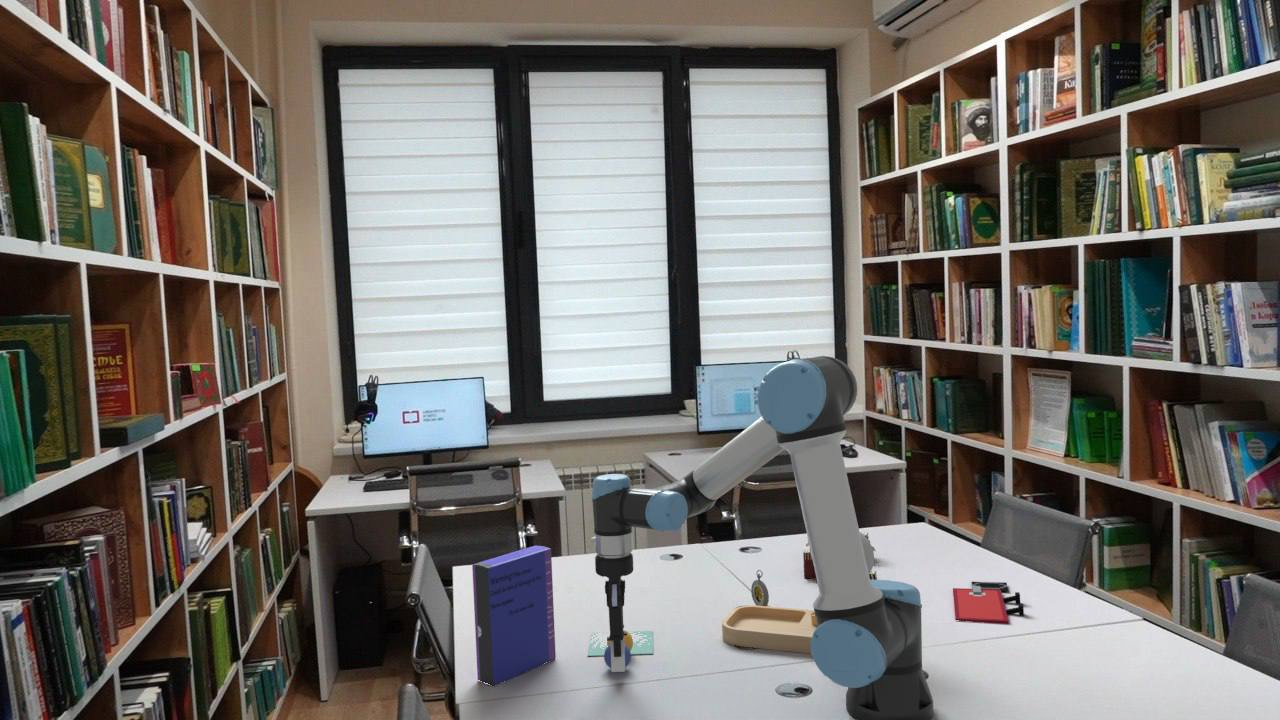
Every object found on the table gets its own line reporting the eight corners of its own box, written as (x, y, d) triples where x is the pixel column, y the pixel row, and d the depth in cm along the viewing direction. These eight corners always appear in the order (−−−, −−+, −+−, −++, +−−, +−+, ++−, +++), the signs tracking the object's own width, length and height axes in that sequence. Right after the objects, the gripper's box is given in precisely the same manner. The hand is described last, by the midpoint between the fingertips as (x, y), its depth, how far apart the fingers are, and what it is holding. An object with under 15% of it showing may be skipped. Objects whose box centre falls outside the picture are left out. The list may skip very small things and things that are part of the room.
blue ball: (629, 635, 190) (630, 654, 193) (603, 637, 190) (604, 655, 192) (631, 655, 185) (632, 674, 188) (604, 657, 185) (605, 676, 188)
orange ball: (632, 650, 192) (632, 624, 196) (606, 650, 192) (606, 625, 196) (633, 659, 197) (633, 635, 200) (607, 660, 197) (607, 635, 200)
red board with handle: (1014, 586, 234) (952, 584, 239) (1014, 575, 234) (951, 573, 238) (1026, 627, 206) (955, 624, 210) (1026, 615, 205) (955, 612, 210)
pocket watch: (729, 616, 219) (727, 574, 219) (744, 605, 226) (743, 565, 226) (760, 621, 215) (759, 578, 214) (775, 610, 222) (774, 569, 221)
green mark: (653, 654, 196) (653, 653, 196) (587, 656, 196) (587, 655, 196) (652, 631, 210) (652, 630, 210) (591, 633, 210) (591, 632, 210)
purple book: (539, 654, 199) (535, 544, 198) (555, 659, 196) (550, 547, 195) (477, 681, 185) (472, 563, 184) (493, 686, 182) (488, 567, 181)
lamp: (716, 644, 201) (712, 530, 200) (738, 619, 217) (734, 513, 216) (870, 660, 189) (867, 538, 187) (882, 632, 205) (879, 520, 203)
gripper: (596, 545, 189) (601, 658, 190) (593, 562, 176) (597, 684, 177) (633, 544, 189) (637, 657, 190) (632, 561, 176) (637, 682, 177)
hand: (618, 670), depth 183 cm, fingers closed
